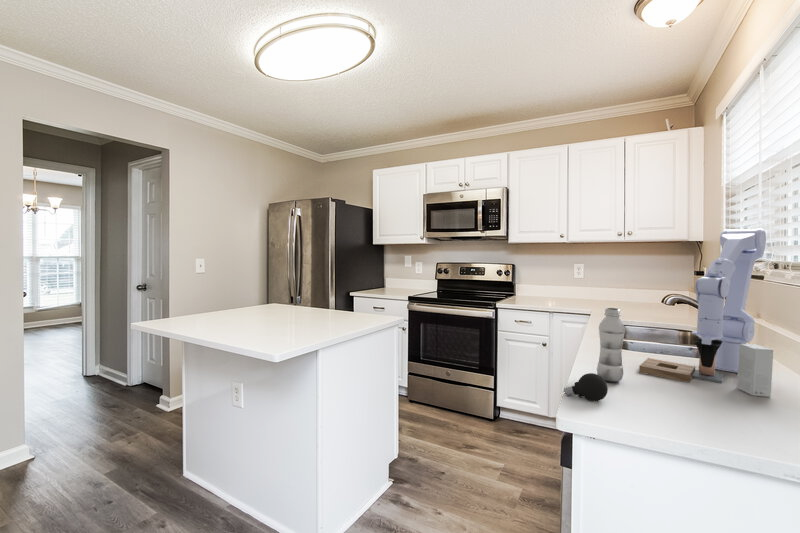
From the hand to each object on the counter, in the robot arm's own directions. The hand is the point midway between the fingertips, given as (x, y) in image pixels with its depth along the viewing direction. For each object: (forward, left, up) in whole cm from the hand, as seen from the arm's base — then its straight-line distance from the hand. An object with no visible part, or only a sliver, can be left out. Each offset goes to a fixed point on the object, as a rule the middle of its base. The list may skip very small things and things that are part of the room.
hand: (707, 365), depth 111 cm
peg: (0, 0, -2) cm, 2 cm away
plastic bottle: (+25, -19, -4) cm, 32 cm away
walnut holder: (+4, -9, -3) cm, 10 cm away
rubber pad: (0, 0, -3) cm, 3 cm away
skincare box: (+7, +10, -4) cm, 13 cm away
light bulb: (+44, -19, -4) cm, 48 cm away
